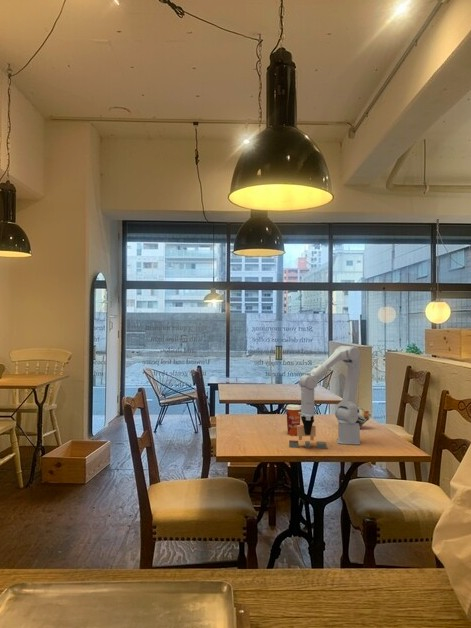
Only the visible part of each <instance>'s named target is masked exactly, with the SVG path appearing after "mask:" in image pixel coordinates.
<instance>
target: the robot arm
mask: <svg viewBox="0 0 471 628" xmlns="http://www.w3.org/2000/svg"><path fill="white" fill-rule="evenodd" d="M340 361H342V362H344V363H345V365H346V367H347V371H346V377H345V383H344V384H345V385H344V388H343V396H342V400H341V401H340V402H338V404H337V407H336V409H335V410H334V411H335V412H334V414H335V415H334V416H335V418H336V419H337V422H338V424H337V425H338V427H337V428H338V432H337V433H338V436H337V437H338V438H336V441H337V443H338V444H341V445H361V442H360V441H361V433H360V431H361V429H360V426H359V423H356V421H357V419H358V407H359V406H357V405H356V403H355V402H356V398H357V397H356V395H357V389H358V384H359V377H360V372H361V367H362V365H361V351H360V349H359V348H358V347H357V346H355V345H351V346H350V345H339V346H338V347H337V348H335V349H334V352H333V353H332V354H331V355H330V356H329V357H327V359H326V360H325V361H324V362H323V363H318V364H315V365H313V368H312V369H310V370H309V371H308V372H306V374H302V375H301V376H300V378H299V380H298V385H299V387H300V392H301V393H300V395H301V396H300V398H301V399H300V401H301V402H300V407H301V412H298V414H301V416H300V421H301V422H302V425H304V431H305V435H310V434H311V428H312V426H314V425H313V424H314V422H315V419H314V418H315V389H316V388H317V387H318V383H319V382H320V380H322V379H323V378H324V377H325V376H326V375H327V374H328V370H329V369H330V368H332V367H333V366H334V365H335V364H337V363H338V362H340Z"/></svg>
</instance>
